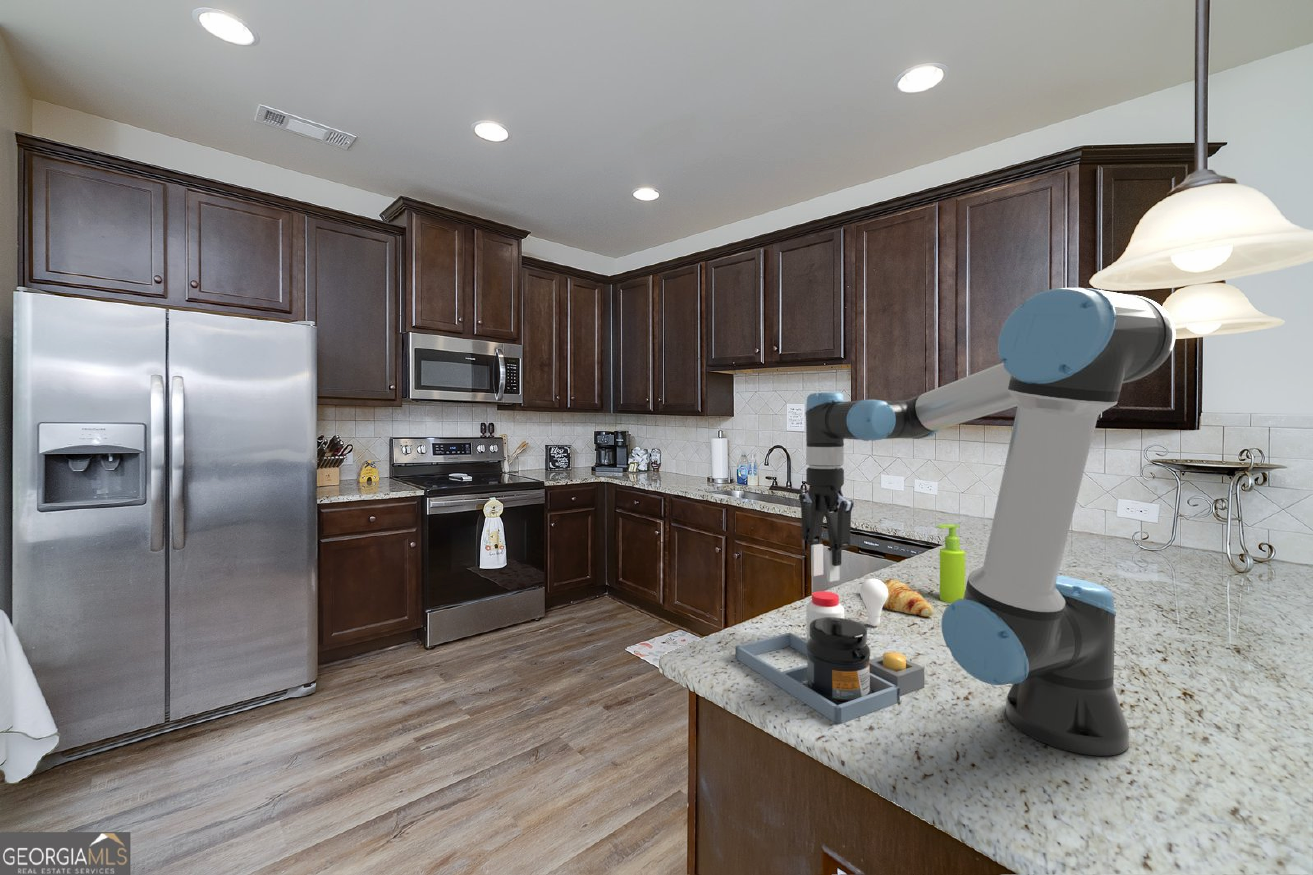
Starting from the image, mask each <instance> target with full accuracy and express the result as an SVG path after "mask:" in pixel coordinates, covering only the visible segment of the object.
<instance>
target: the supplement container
mask: <svg viewBox="0 0 1313 875" xmlns="http://www.w3.org/2000/svg"><path fill="white" fill-rule="evenodd" d="M809 635H810V638H809V639H808V641H807V645H806V646H807V655H806V656H807V657H806V658H807V659H806V660H807V662H806V665H807V681H806V687H808V688H809V689H811V690H813V691H814V692H816V693H818V694H819V695H821V696H823V697H824V698H826V699H828V700H829V701H831V702H833V703H834V704H836V705H840V704H843V703H846V702H849V701H852V700H855V699H858V698H861V697H864V696H866V695H869V694H871V689H870V657H871V648H870V646H869V645H868V643H867V642H868V629H867V627H865V625H863V624H861V623H860V622H857V621H855V620H851V619H849V618H845V619H844V618H835V617H826V618H819V619H816V620H813V621H812V622H811V623H810V625H809Z"/></svg>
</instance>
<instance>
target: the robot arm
mask: <svg viewBox="0 0 1313 875" xmlns="http://www.w3.org/2000/svg"><path fill="white" fill-rule="evenodd" d="M1175 342H1176V329H1175V324H1174V321H1173V318H1172V317H1171V315H1170V314H1169V312H1168V311H1167V310H1166V309H1165V308H1164V307H1163V306H1161V305H1160V304H1159V303H1157V302H1156V301H1154V300H1152V299H1149V298H1147V297H1144V296H1139V295H1135V294H1129V293H1125V294H1124V293H1117V292H1113V291H1106V290H1100V289H1095V288H1091V287H1090V288H1088V287H1087V288H1086V287H1080V286H1078V287H1061V288H1060V287H1059V288H1051V289H1048V290H1045V291H1041V292H1039V293H1036V294H1034V295H1032V296H1031V297H1029V298H1028V299H1027V300H1025V301H1024V302H1023V303H1022V304H1020V305H1018V306H1017V307H1016V308H1015V309H1014V310H1013V311H1012V312H1011V313H1010V314H1009V316H1008V317H1007V319H1006V320H1005V322H1004V323H1003V325H1002V328H1001V330H1000V333H999V336H998V340H997V353H998V358H999V361H1001V362H1002V363H999V364H996V365H992V366H991V367H988V368H985V369H984V370H981V371H978V372H975V373H972V374H970V375H968V376H965V377H962V378H960V379H958V380H955V381H952V382H950V383H947V384H945V385H942V386H940V387H937V388H935V389H931V390H929V391H927V392H924V393H921V394H920V395H917V396H914V397H911V398H910V399H909V398H908V399H906V400H905V399H904V400H880V399H862V400H853V401H852V400H851V401H845V399H844V398H845V397H844V394H843V393H842V392H836V391H835V392H813V393H810V394H808V395H807V397H806V404H805V405H806V407H805V428H806V429H805V432H806V433H805V442H806V447H805V464H806V465H807V466H808V467H807V468H806V470H805V471H806V472H805V474H806V478H805V479H806V481H805V482H806V484H807V485H808V486H809V488H808V490H807V492H806V493H800V494H799V495H798V499H799V503H800V513H801V515H800V516H801V517H800V518H801V519H800V520H801V538H802V540H805V541H807V542H808V545H809V558H810V564H811V567H810V568H811V573H810V574H811V575H810V576H811V577H817V576H823V575H824V544H823V541H824V540H822V539H821V538H822V534H823V533H822V531H823V526H824V519H825V520H826V522H825V523H826V527H827V528H826V529H827V534H828V541H829V547H827V549H826V567H827V568H826V581H827V582H830V583H831V582H835V581H840V579H841V578H840V566H842V550H844V549H849V548H850V547H851V525H852V524H851V522H852V511H853V508H854V503H855V502H854V501H853V500H852V499H850V500H847V499H846V498H845V497H844V494H843V492H842V487H843V485H844V484H845V469H843V467H842V466H844V464H845V462H844V455H845V452H844V451H845V449H844V448H845V441H844V440H856V441H857V440H859V441H864V442H868V441H873V442H874V441H879V440H888V439H889V440H890V439H891V440H892V439H915V440H919V439H924V438H930V437H933V436H934V435H936V434H937V433H938V432H939V431H940V430H942V429H945V428H946V429H947V428H948V427H949V428H950V427H953V426H956V425H959V424H962V423H965V422H966V423H967V422H970V421H973V420H975V419H979V418H982V417H986V416H989V415H993V414H996V413H1000V412H1002V411H1006V410H1009V409H1012V408H1015V407H1017V408H1016V412H1015V417H1014V421H1013V422H1014V423H1013V426H1012V432H1011V436H1010V440H1009V445H1008V450H1007V454H1006V458H1005V463H1004V469H1003V473H1002V477H1001V482H1000V486H999V491H998V496H997V501H996V506H995V508H994V513H993V520H992V522H991V528H990V533H989V539H988V542H987V546H986V551H985V557H984V561H983V565H982V566H981V567H978V568H977V569H974V570H972V571H970V573H969V574H968V576H967V582H966V584H965V594H964V598H963V599H958V600H956V601H955V602H953V603H949V604H948V606H946V607H945V609H944V611H943V613H942V616H941V620H940V621H941V622H940V624H941V625H940V626H941V633H942V637H943V640H944V643H945V645H946V647H947V648H948V649H949V651H950V653H951V656H952V657H953V659H954V660H955V662H956V663H957V665H958V666H960V667H961V668H962V670H964V671H965V672H966V673H967V674H968V675H970V676H971V677H972V678H974V679H976V680H978V681H979V682H982V683H984V684H987V685H993V686H1004V685H1009V684H1011V686H1010V689H1009V690H1008V693H1007V696H1006V697H1005V698H1006V699H1005V715H1006V718H1007V719H1008V721H1009V722H1010V723H1011V724H1012V725H1013V726H1014V727H1015V728H1017V729H1018V730H1019V731H1021V732H1022V733H1024V734H1025V735H1027V736H1029V737H1031V738H1033V739H1034V740H1037V741H1039V742H1041V743H1044V744H1046V745H1048V746H1052V747H1055V748H1057V749H1060V750H1064V751H1066V752H1067V751H1068V752H1072V753H1076V754H1082V755H1088V756H1099V757H1100V756H1101V757H1102V756H1103V757H1104V756H1105V757H1106V756H1108V757H1109V756H1115V755H1119V754H1122V753H1124V752H1126V751H1127V750H1128V748H1129V745H1130V729H1129V726H1128V723H1127V720H1126V718H1125V715H1124V712H1123V710H1122V707H1121V704H1120V702H1119V699H1118V695H1117V694H1116V690H1115V686H1114V685H1115V684H1114V683H1115V682H1114V678H1115V677H1114V676H1115V674H1114V673H1115V632H1116V631H1115V630H1116V624H1115V623H1116V616H1117V612H1116V611H1115V598H1114V595H1113V593H1112V592H1111V590H1110V589H1108V588H1107V587H1105V586H1103V585H1100V584H1098V583H1095V582H1092V581H1087V580H1084V579H1079V578H1074V577H1070V576H1066V575H1059V572H1060V567H1061V564H1062V560H1063V557H1064V556H1063V555H1064V552H1065V548H1066V544H1067V541H1068V536H1069V531H1070V529H1071V524H1072V520H1073V517H1074V513H1075V508H1076V505H1077V501H1078V496H1079V493H1080V488H1081V486H1082V485H1081V484H1082V481H1083V477H1084V474H1085V473H1084V472H1085V469H1086V465H1087V461H1088V457H1089V453H1090V449H1091V444H1092V443H1093V442H1092V441H1093V437H1094V433H1095V429H1096V426H1097V421H1098V418H1099V415H1100V414H1101V413H1103V412H1105V411H1106V410H1109V409H1110V408H1112V407H1115V406H1116V405H1117V404H1118V403H1119V402H1118V401H1119V397H1120V394H1121V390H1122V386H1123V384H1125V383H1131V382H1134V381H1137V380H1140V379H1141V378H1142V379H1143V378H1144V377H1146V376H1149V375H1150V374H1152V373H1153V372H1154V371H1155V370H1157V369H1158V368H1160V366H1162V365H1163V363H1164V362H1166V360H1167V359H1168V357H1169V356H1170V355H1171V352H1172V351H1173V348H1174V346H1175Z"/></svg>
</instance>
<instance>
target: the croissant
mask: <svg viewBox="0 0 1313 875" xmlns="http://www.w3.org/2000/svg"><path fill="white" fill-rule="evenodd" d="M882 582H883V583H884V584H885V585H886V587H887V589H888V598H887V600H886V602H885V603H884V605H883V607H882V608H884V609H887V610H888V611H892V612H899V613H905V614H907V615H914V616H915V615H918V616H921V617H931V616H933V615H934V614H935V610H933V609H934V608H933V606H932V605H931V604H930V603H929V602H928V600H926V599H925V598H924V597H923V595H922V594H921V593H920V592H919V591H918V590H917V591H916V590H914V589H912V588H910V587H909V586H908V584H906V583H904V582H901V581H899V580H896V579H892V578H889V579H887V580H885V581H882Z"/></svg>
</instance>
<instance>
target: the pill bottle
mask: <svg viewBox="0 0 1313 875" xmlns="http://www.w3.org/2000/svg"><path fill="white" fill-rule="evenodd" d="M805 608H806V609H805V610H806V611H805V614H806V617H805V618H806V621H805V625H806V626H805V627H806V631H805V632H806V636H805V638H806V639H805V640H806V641H808V639H809V638H810V635H809V625H810V623H811V622H812V621H813V620H816V619H819V618H826V617H835V618H844V619H846V617H845V616H846V615H845V611H846V610H845V607H844V606H843V605H842V604H841V603H840V597H839V594H837V593H835V592H832V591H827V590H825V591H824V590H818V591H814V592H812V593H811V600H810V601H809V602H808V603H807V604H806V607H805Z"/></svg>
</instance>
